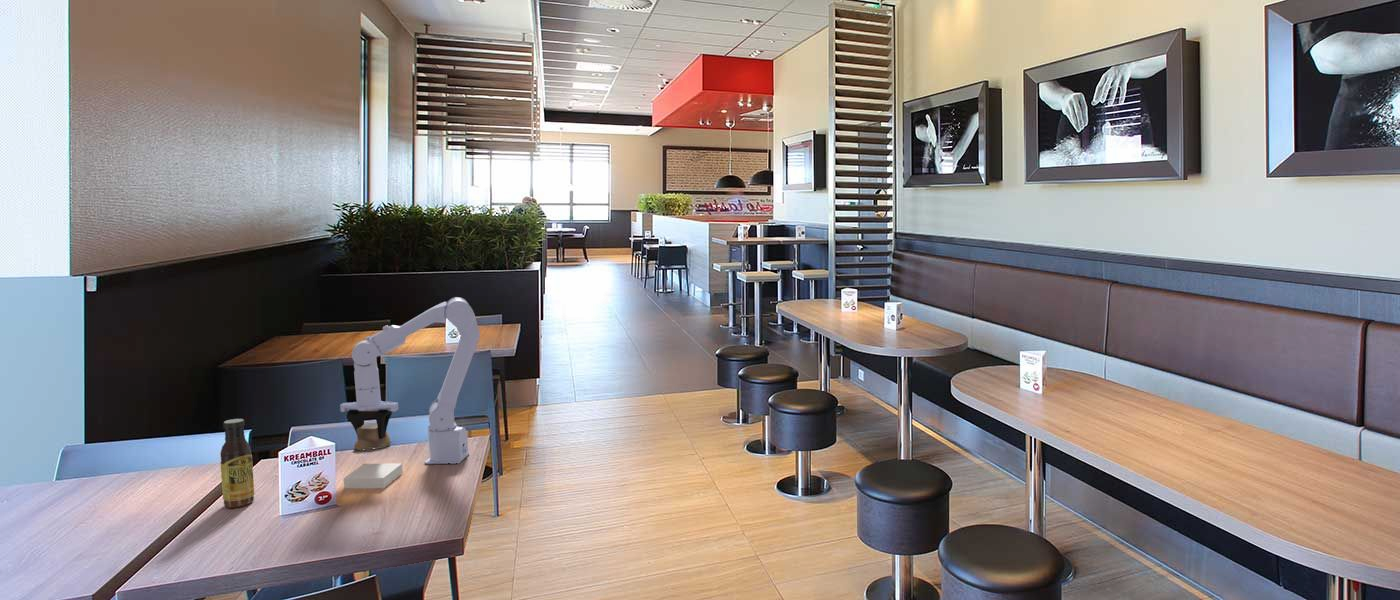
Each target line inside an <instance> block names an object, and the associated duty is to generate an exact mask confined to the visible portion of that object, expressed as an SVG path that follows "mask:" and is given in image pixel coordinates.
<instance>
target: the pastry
mask: <svg viewBox="0 0 1400 600" xmlns="http://www.w3.org/2000/svg"><path fill="white" fill-rule="evenodd" d="M391 443H392V441H391V437H390V435H389V433H388V432H387V431H386V442H384V443H383V444H381V445H380V446H378V447H358V440H357V441H356V442H355V443H354V445H353V447H354V450H358V451H364V450H363V449H370V450H374V449H373V448H376V449H380V447H382V448H386V447H389V446H391Z"/></svg>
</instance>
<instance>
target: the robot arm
mask: <svg viewBox="0 0 1400 600" xmlns="http://www.w3.org/2000/svg"><path fill="white" fill-rule="evenodd" d="M446 320H448V321H449V322H450V323H451V324H452V325H453V326H455V328H456V330H457V331H458V333H459V334H460V338H459V341H458V343H457V346H456V347H455V348H456V349H455V351H454V354H453V356H452V359H451V362H450V365H449V367H448V370H447V373H446V374H445V378H444V380H443V384H442V386H441V389H440V391H439V393H438V395H437V397H436V399H435V400H434V401H433V402H432V403H431V404H430V406H429V408H428V414H429V417H428V422H429V426H428V427H427V429H428V446H429V456H430V457H429V458H427V459H426V460H424V464H425V465H430V464H432V465H433V464H434V465H436V464H437V465H438V464H439V465H440V464H442V465H443V464H444V465H445V464H447V465H449V464H448V463H450V464H451V465H453V464H454V465H455V464H456V463H457V464H460V463H461V462H463V460H464V459H465V458H466V457H468V456H469V454H470V452H469V446H468V445H469V444H468V433H467V428H466V427H463V426H459V425H457V422H455V413H454V412H455V408H456V406H457V401H458V397H459V393H460V391H461V388H462V387H463V383H464V380H465V379H466V375H467V372H468V369H469V368H470V364H471V362H472V360H473V356H474V354H475V351H476V348H477V347H478V346H477V345H478V343H479V340H480V338H481V332H480V328H479V326H478V325H479V324H478V322H477V318H476V315H475V312H474V310H473V308H472V307H471V306H470V304H469V303H468V301H467V300H466V299H465V298H463V297H458V296H455V297H451V298H450V299H449V300H447V301H443V302H440V303H439V304H436V305H435V306H433V307H431V308H428V309H427V310H424V312H422V313H420V314H418V315H417V316H415V317H413V318H412V319H410V320H408V321H407V322H404V323H403V324H402V325H395V324H391V325H388V324H387V325H384V326H383V327H382V329H381V330H380V331H379V332H377V333H374V334H373V335H371V336H370V335H367V336H365V340H361V341H359V342H357V343H356V344H355V345H354V347H353V349H352V351H351V358H352V360H353V368H354V371H353V375H354V384H355V386H354V387H355V398H356V399H355V400H356V401H353V402H343V403H340V404H339V408H340V413H345V412H348V414H346V415H345V416H346V419H348V421H349V422H350V424H351V425H352V427H353V429H354V431H355V433H356V435H357V428H359V427H360V426H362V425H364V424H365V415H366V414H365V413H366V412H376V413H375V414H374V418H375V421H376V423H377V426H378V436H379V439H383V438H384V437H385V436H386V432H387V429H388V425H389V421H390V419H391V417H392V414H393V413H394V412H396V411H399V402H393V401H386V400H385V401H383V400H382V397H381V386H380V375H379V368H378V362H377V361H378V360H377V359H378V358H377V357H382V356H385V355H386V354H388V353H389V352H392V351H393V350H395V349H397V348H398V347H400V346H401V347H402V345H405V343H406V339H407V337H409V336H411V335H412V334H414V333H417V332H419V331H420V330H422V329H424V328H426V327H428V326H430V325H432V324H434V323H442V324H446V323H447V321H446Z"/></svg>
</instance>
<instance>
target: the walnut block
mask: <svg viewBox="0 0 1400 600" xmlns="http://www.w3.org/2000/svg"><path fill="white" fill-rule="evenodd" d="M356 437H357V441H358V447H378V446H380V445H381V444H383V443H384V442H386V436H385V437H384V438H383V439H379V436H378V426H377V422H366V423H365V422H364V425H362V426H360V427H359V428H357V434H356Z"/></svg>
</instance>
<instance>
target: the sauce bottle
mask: <svg viewBox="0 0 1400 600" xmlns="http://www.w3.org/2000/svg"><path fill="white" fill-rule="evenodd" d="M244 427H245V419H243V418H233V419H227V420H225V421H224V422H223V429H224V437H225V438H224V441H225V442H224V444H223V445H222V446H221V450H220V475H221V488H222V489H221V491H222V500H223V505H224V507H225V508H228V509H232V508H233V509H234V508H240V507H241V508H242V507H245V506H247V505H249V504H251V503H253V502H254V499H255V497H254V496H255V484H254V469H253V468H254V467H253V455H252V449H251V446H250V443H249V442H248V441H247V439H246V438H245V437H246V435H245V428H244Z"/></svg>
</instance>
